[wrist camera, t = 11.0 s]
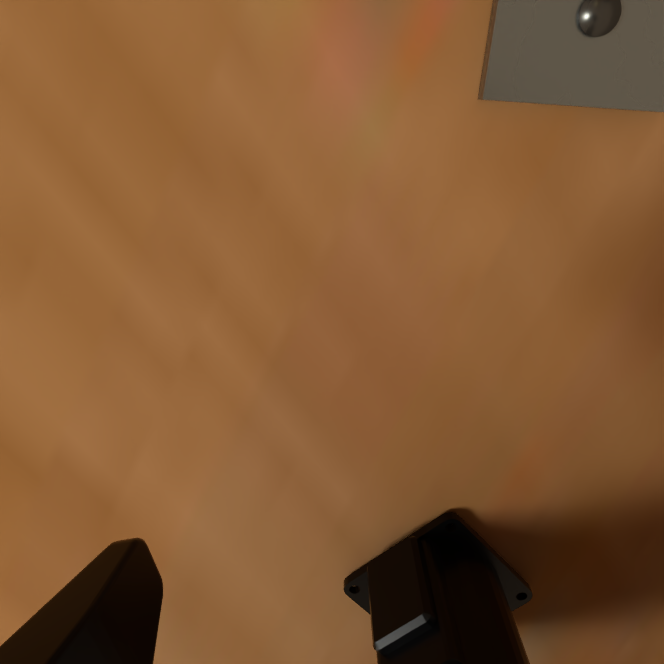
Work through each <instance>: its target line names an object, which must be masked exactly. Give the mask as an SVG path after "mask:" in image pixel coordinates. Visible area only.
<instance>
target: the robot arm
mask: <svg viewBox="0 0 664 664" xmlns="http://www.w3.org/2000/svg"><path fill="white" fill-rule="evenodd" d="M450 523H454V524H453V525H451V526H447V524H450ZM344 592H345V594H346V595H347V596H349V597H350V598H351V599H352V600H353V601H355V602H356V603H357V604H358V605H359V606H361V607H362V608H363V609H364V610H365V611H367V612H368V613H369V614H370V615H371V627H372V639H373V647H374V649H375V650H376V651H377V663H378V664H530V663H529V660H528V657H527V655H526V652H525V649H524V646H523V643H522V640H521V638H520V635H519V632H518V629H517V626H516V624H515V621H514V618H513V615H512V612H511V611H513V610H515V609H517V608H518V607H520V606H522V605H524V604H525V603H527V602H529V601H530V600H531V598H532V592H531V589H530V587H529V585H528V584H527V583H526V582H525V581H524V580H523V579H522V578H521V577H520V576H519V575H518V574H517V573H516V572H515V571H514V570H513V569H512V568H511V567H510V566H509V565H508V564H507V563H506V562H505V561H504V560H503V559H502V558H501V557H500V556H499V555H498V554H497V553H496V552H495V551H494V550H493V549H492V548H491V547H490V546H489V545H488V544H487V543H486V542H485V541H484V540H483V539H482V538H481V537H480V536H479V535H478V534H477V533H476V532H475V531H474V530H473V529H472V528H471V527H470V526H469V525H468V524H467V523H466V522H465V521H464V520H463V519H462V518H461V517H460V516H459V515H457V514H456V513H452V512H449V513H445V514H443V515H441V516H440V517H438V518H436V519H435V520H433V521H432V522H430V523H429V524H427V525H426V526H424V527H423V528H421V529H420V530H418V531H417V532H415V533H413V534H412V535H410V536H409V537H407V538H406V539H404V540H403V541H401V542H400V543H398V544H397V545H395V546H394V547H392V548H390V549H389V550H387V551H386V552H384V553H383V554H381V555H380V556H378V557H377V558H375V559H374V560H372V561H370V562H369V563H367V564H366V565H364V566H363V567H361V568H360V569H358V570H357V571H355V572H354V573H352V574H351V575H349V576H347V577H346V578H345V580H344ZM162 598H163V583H162V579H161V576H160V573H159V571H158V569H157V567H156V564H155V562H154V560H153V557H152V555H151V553H150V551H149V548H148V546H147V544H146V543H145V541H144V540H143V539H141V538H132V539H126V540H120V541H116V542H113V543H111V544H110V545H109V546H108V547H107V548H106V549H105V550H103V551H102V552H101V553H100V554H99V555H98V556H97V557H96V558H95V559H94V560H93V561H92V562H91V563H89V564H88V565H87V566H86V567H85V568H84V569H83V570H82V571H81V572H80V573H79V574H78V575H77V576H75V577H74V578H73V579H72V580H71V581H70V582H69V583H68V584H67V585H66V586H65V587H64V588H63V589H61V590H60V591H59V592H58V593H57V594H56V595H55V596H54V597H53V598H52V599H51V600H50V601H49V602H47V603H46V604H45V605H44V606H43V607H42V608H41V609H40V610H39V611H38V612H37V613H36V614H35V615H33V616H32V617H31V618H30V619H29V620H28V621H27V622H26V623H25V624H24V625H23V626H22V627H21V628H19V629H18V630H17V631H16V632H15V633H14V634H13V635H12V636H11V637H10V638H9V639H8V640H7V641H5V642H4V643H3V644H2V645H1V646H0V664H153V660H154V653H155V646H156V639H157V632H158V625H159V619H160V612H161V605H162Z"/></svg>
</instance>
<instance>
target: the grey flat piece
mask: <svg viewBox="0 0 664 664" xmlns="http://www.w3.org/2000/svg"><path fill="white" fill-rule="evenodd" d="M478 99H480V100H495V101H509V102H524V103H538V104H553V105H567V106H581V107H596V108H610V109H625V110H639V111H654V112H664V0H493V4H492V11H491V17H490V24H489V30H488V36H487V43H486V49H485V56H484V62H483V69H482V75H481V81H480V88H479V94H478Z"/></svg>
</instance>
